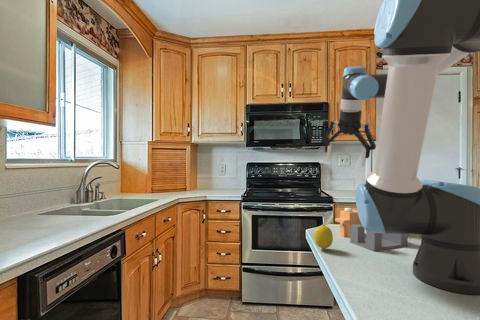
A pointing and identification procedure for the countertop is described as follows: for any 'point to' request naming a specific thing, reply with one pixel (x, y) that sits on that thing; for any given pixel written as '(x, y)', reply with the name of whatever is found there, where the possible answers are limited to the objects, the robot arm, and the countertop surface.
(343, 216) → the block
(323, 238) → the lemon
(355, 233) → the grey stand
